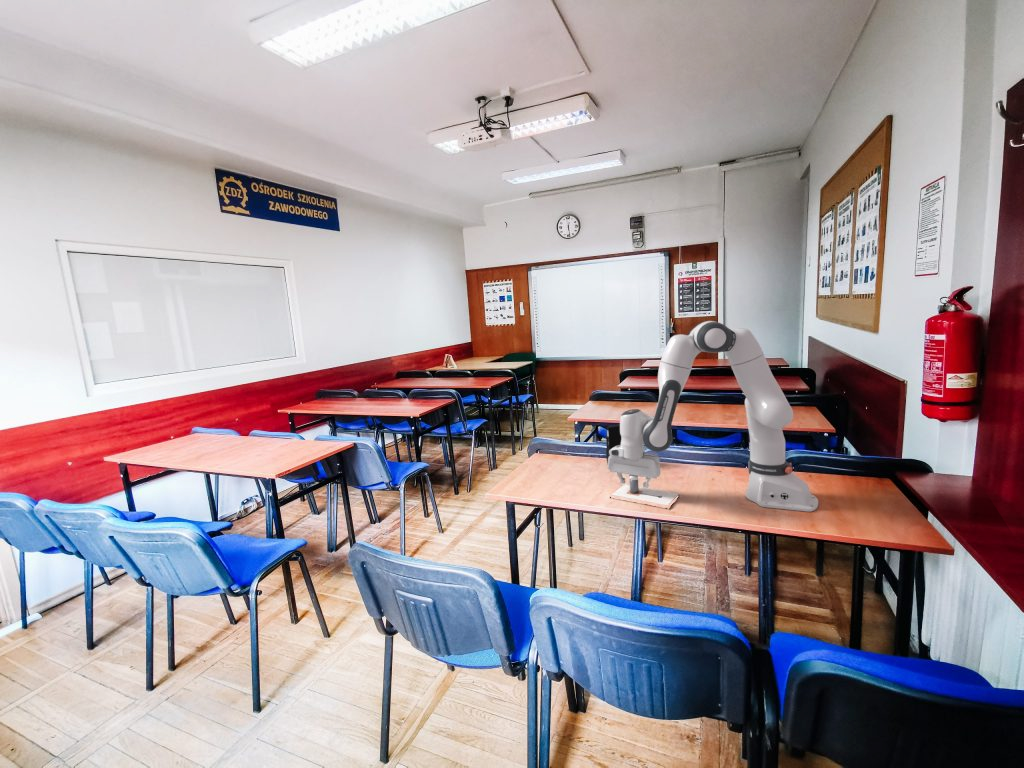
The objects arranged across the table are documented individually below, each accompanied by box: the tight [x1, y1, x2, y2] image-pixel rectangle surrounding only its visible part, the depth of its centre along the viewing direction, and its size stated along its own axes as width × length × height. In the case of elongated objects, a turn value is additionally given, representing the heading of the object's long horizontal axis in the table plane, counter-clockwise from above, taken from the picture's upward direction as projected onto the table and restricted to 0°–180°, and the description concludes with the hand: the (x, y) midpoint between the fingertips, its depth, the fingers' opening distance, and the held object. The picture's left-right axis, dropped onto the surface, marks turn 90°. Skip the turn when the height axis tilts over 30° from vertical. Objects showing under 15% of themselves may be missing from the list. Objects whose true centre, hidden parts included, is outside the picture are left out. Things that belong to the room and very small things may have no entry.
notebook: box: [611, 483, 679, 506], centre depth 171 cm, size 23×13×1 cm, turn 52°
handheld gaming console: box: [605, 424, 621, 465], centre depth 207 cm, size 12×5×20 cm, turn 105°
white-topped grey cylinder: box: [628, 474, 639, 494], centre depth 173 cm, size 3×3×7 cm
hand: (634, 485), depth 173 cm, fingers open, 8 cm apart
